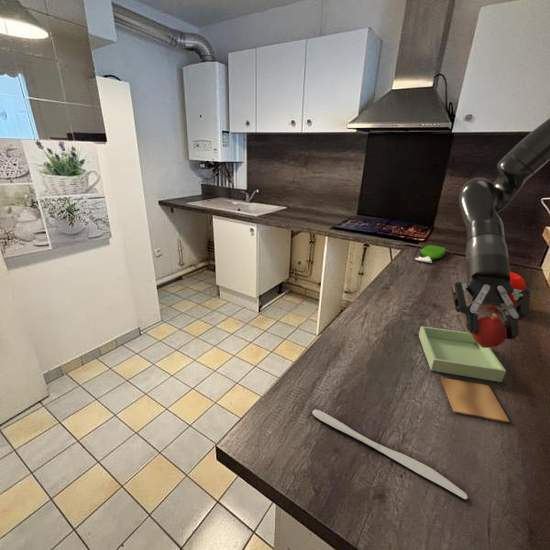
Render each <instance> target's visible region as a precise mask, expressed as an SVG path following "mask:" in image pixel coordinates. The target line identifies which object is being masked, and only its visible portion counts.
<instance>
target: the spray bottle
mask: <svg viewBox="0 0 550 550" xmlns="http://www.w3.org/2000/svg"><path fill="white" fill-rule="evenodd" d="M420 253H421V255H423V256H424V257H421V256H420V255H419V256H418V257H415V258H414V259H415V261H418V262H423V263H429V264H432V263H433V261H435V260H439V259H441V258H443V257H444V256H445V254H446V253H447V249H446V247H444V246H443V247H442V246H437V245H433V244H428V245H426V246H424V247H423V248H421V250H420Z"/></svg>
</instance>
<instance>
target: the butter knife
mask: <svg viewBox="0 0 550 550" xmlns="http://www.w3.org/2000/svg"><path fill="white" fill-rule="evenodd" d="M311 414H312V415H313V416H314V417H315V418H317V419H318V420H320V421H322V422H323V423H325V424H327V425H328V426H331V428H334V429H336V430H337V431H339V432H342V433H344V434H346V435H348V436H349V437H352V438H354V439H356V440H358V441H359V442H362V443H364V444H365V445H367V446H370V447H371V448H373V449H375V450H377V451H378V452H380V453H382V454H384V455H385V456H387V457H388V458H390V459H392V460H394V461H396V462H397V463H399V464H401V465H402V466H404V467H406V468H408V469H409V470H411V471H412V472H415V473H416V474H418V475H420V476H422V477H423V478H425V479H428V480H429V481H431V482H433V483H435V484H437V485H439V486H441V487H442V488H443V489H446V490H448V491H450V492H451V493H453V494H455V495H456V496H458V497H459V498H462V499H464V500H467V499H468V495H467V493H466V492H465V491H463V490H462V489H460V488H459V487H458V486H457V485H455V484H454V483H453V482H451V480H449V479H447V478H446V477H445V476H443V475H442V474H440V473H439V472H437V471H436V470H435V469H433V468H432V467H430V466H428V465H426V464H425V463H422V462H420V461H418V460H417V459H414V458H412V457H410V456H408V455H406V454H404V453H401V452H399V451H396V450H395V449H391V448H388V447H386V446H384V445H382V444H380V443H378V442H376V441H373V440H371V439H369V438H367V437H366V436H364V435H362V434H361V433H359V432H357V431H355V430H354V429H352V428H350V427H349V426H348V425H346V424H344V423H343V422H342V421H339V420H338V419H336V418H334V417H333V416H331V415H329V414H327V413H326V412H324V411H322V410H320V409H316V408H315V409H313V410H312V413H311Z"/></svg>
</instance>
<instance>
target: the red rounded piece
mask: <svg viewBox="0 0 550 550" xmlns="http://www.w3.org/2000/svg"><path fill="white" fill-rule="evenodd" d="M478 329H479V331H478V333H476V334H472V336H473V338H474V339H475V340H476V341H477V342H478V343H479V344H480V346H481V347H483V348H489V347H490V348H497V347H500V345H502V344H503V343H504V342H506V339H507V338H506V337H507V330H506V327H505V322H503V321H502V320H501V319H500V318H499V317H498V315H497V314H496V313H489V315H488V316H487V315H486V316H483V317H480V318H478Z"/></svg>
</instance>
